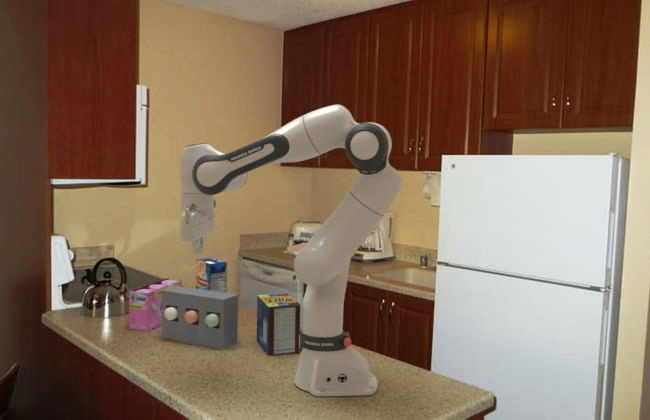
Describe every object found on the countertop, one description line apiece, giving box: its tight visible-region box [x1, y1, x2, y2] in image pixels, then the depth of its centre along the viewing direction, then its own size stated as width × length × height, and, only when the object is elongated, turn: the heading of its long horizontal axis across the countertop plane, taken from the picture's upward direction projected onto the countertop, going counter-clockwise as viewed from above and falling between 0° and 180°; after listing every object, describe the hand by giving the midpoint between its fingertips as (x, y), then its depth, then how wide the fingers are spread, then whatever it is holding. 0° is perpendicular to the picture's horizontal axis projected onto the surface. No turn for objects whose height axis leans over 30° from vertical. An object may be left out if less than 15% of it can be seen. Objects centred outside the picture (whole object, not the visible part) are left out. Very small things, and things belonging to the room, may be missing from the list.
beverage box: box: [195, 257, 228, 293], centre depth 209 cm, size 7×11×22 cm, turn 40°
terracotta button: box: [184, 309, 199, 324], centre depth 182 cm, size 4×4×4 cm
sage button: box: [205, 313, 220, 327], centre depth 178 cm, size 4×4×4 cm
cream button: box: [164, 306, 178, 320], centre depth 185 cm, size 4×4×4 cm
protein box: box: [256, 292, 302, 356], centre depth 181 cm, size 10×15×16 cm
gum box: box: [128, 278, 183, 332], centre depth 205 cm, size 24×8×14 cm, turn 163°
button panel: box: [161, 286, 239, 351], centre depth 185 cm, size 24×8×16 cm, turn 66°
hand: (198, 253), depth 156 cm, fingers closed
